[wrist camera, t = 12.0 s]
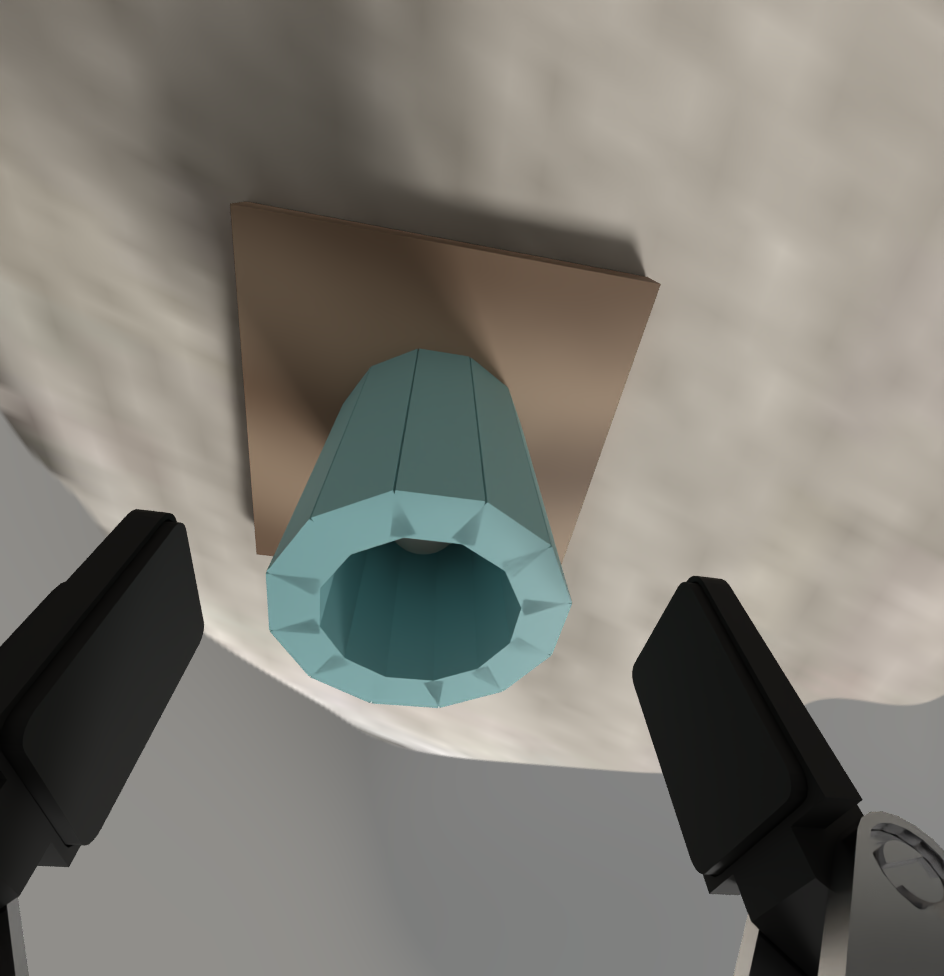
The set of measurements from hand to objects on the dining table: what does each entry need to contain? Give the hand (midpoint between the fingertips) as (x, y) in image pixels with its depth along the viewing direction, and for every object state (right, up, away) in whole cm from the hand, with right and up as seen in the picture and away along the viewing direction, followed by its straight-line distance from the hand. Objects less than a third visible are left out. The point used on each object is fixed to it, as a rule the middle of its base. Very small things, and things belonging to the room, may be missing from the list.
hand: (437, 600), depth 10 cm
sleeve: (-1, +4, +7) cm, 8 cm away
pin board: (-1, +5, +8) cm, 9 cm away
